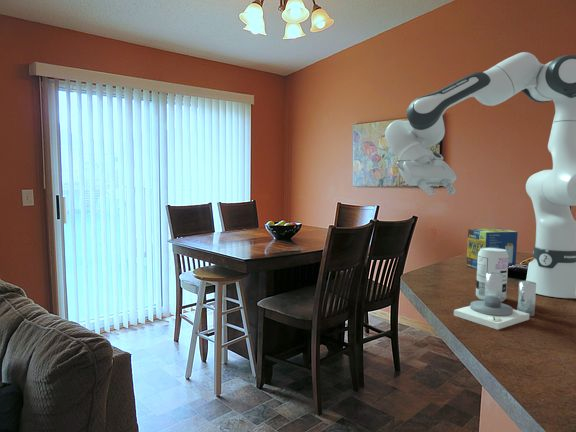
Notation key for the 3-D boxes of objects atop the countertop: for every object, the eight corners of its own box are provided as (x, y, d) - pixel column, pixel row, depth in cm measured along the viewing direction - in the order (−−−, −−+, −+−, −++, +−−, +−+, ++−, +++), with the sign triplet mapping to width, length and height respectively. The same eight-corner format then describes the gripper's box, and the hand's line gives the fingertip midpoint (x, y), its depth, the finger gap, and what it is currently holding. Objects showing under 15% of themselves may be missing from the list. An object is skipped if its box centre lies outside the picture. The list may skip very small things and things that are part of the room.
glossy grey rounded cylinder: (489, 302, 112) (491, 271, 112) (504, 306, 109) (506, 274, 108) (480, 304, 110) (482, 273, 109) (495, 309, 107) (497, 276, 106)
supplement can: (479, 293, 130) (482, 246, 129) (508, 298, 125) (511, 249, 124) (472, 299, 124) (474, 249, 123) (502, 304, 119) (505, 252, 118)
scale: (485, 307, 117) (485, 298, 116) (529, 319, 106) (529, 309, 106) (453, 315, 109) (454, 306, 109) (497, 329, 99) (498, 319, 99)
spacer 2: (522, 310, 114) (524, 280, 113) (537, 314, 111) (539, 283, 110) (514, 312, 112) (515, 281, 111) (529, 317, 108) (531, 285, 108)
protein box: (465, 266, 172) (467, 228, 171) (496, 264, 176) (498, 228, 175) (483, 271, 162) (485, 232, 161) (516, 269, 166) (518, 231, 165)
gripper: (400, 152, 123) (425, 186, 116) (444, 154, 134) (470, 186, 127) (388, 167, 127) (412, 201, 120) (432, 169, 138) (457, 199, 131)
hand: (442, 193), depth 123 cm, fingers open, 8 cm apart
